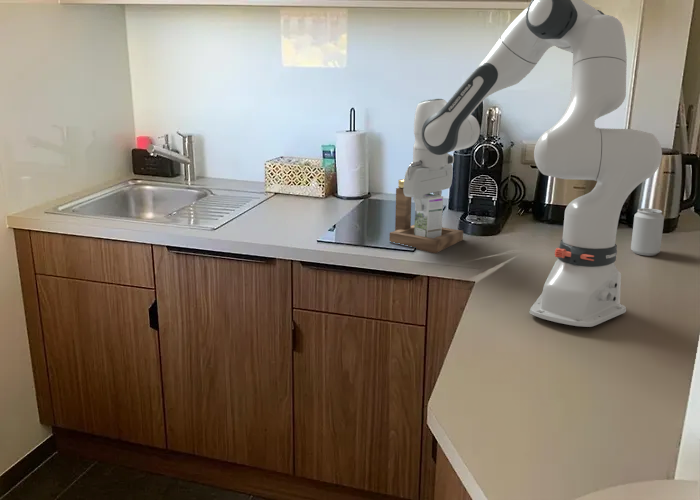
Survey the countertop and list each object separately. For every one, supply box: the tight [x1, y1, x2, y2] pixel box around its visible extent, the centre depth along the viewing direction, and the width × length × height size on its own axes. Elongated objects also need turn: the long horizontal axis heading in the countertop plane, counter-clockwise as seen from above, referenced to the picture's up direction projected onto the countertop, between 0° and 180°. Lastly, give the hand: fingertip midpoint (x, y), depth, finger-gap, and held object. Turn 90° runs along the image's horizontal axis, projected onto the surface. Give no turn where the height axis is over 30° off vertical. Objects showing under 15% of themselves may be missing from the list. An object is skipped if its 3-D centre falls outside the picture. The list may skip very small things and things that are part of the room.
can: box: [630, 207, 665, 257], centre depth 194 cm, size 8×8×12 cm
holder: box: [388, 187, 464, 254], centre depth 201 cm, size 15×17×16 cm
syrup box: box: [414, 193, 444, 238], centre depth 200 cm, size 6×6×14 cm
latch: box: [397, 178, 405, 188], centre depth 207 cm, size 15×3×2 cm, turn 146°
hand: (427, 208), depth 199 cm, fingers closed on syrup box, 6 cm apart
